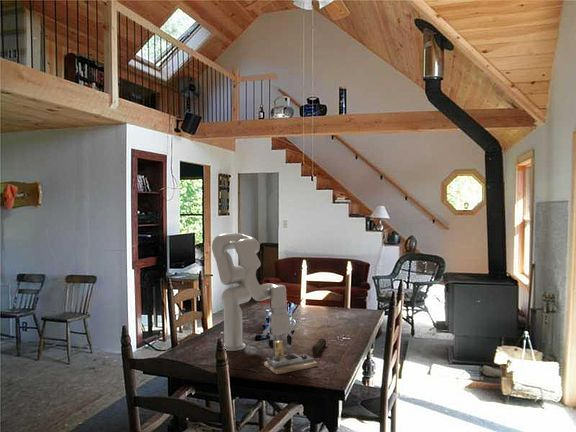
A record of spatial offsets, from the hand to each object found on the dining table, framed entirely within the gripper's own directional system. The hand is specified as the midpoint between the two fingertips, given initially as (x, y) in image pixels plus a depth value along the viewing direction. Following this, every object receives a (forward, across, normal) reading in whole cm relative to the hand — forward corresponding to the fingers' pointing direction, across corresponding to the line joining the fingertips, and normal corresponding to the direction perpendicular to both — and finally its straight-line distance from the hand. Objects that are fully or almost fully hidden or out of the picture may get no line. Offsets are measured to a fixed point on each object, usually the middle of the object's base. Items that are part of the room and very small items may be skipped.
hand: (280, 345), depth 207 cm
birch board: (+6, 0, -11) cm, 13 cm away
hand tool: (+7, +22, 0) cm, 23 cm away
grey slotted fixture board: (+5, 0, -11) cm, 12 cm away
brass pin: (+6, 0, +1) cm, 6 cm away
